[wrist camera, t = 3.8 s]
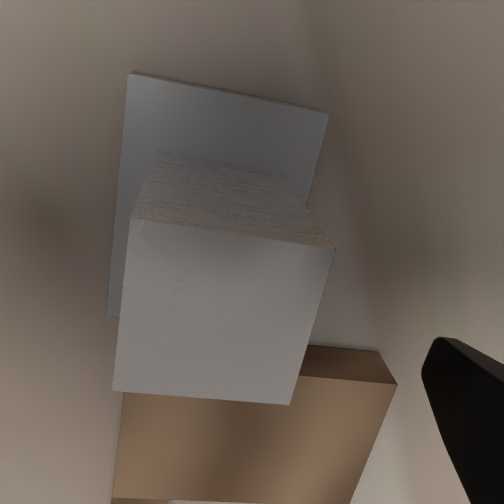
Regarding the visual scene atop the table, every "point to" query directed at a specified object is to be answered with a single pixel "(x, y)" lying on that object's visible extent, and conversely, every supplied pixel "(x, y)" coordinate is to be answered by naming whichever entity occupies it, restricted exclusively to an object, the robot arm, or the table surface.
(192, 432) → the board
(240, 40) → the table surface
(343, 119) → the table surface
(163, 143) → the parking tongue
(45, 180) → the table surface
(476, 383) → the robot arm
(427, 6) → the table surface
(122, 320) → the block
